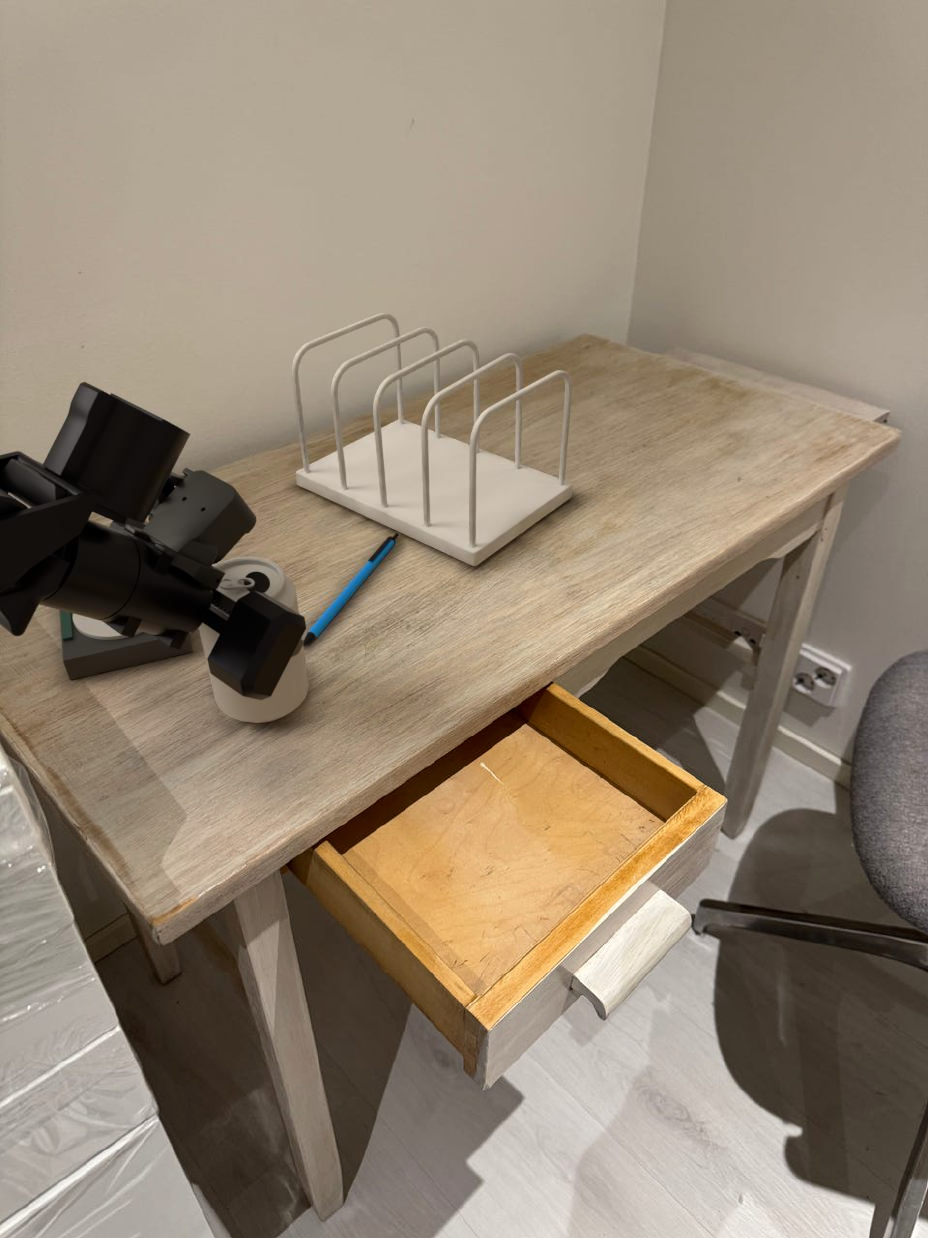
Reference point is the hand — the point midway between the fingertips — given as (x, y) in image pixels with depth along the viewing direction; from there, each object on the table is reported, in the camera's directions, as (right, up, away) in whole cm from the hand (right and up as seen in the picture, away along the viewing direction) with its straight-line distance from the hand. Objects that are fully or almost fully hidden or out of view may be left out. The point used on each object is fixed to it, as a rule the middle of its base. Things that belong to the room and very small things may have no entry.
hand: (266, 626), depth 69 cm
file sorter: (+12, +14, +29) cm, 34 cm away
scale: (-14, 0, +10) cm, 17 cm away
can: (-1, -6, +3) cm, 7 cm away
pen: (+5, +3, +15) cm, 16 cm away
